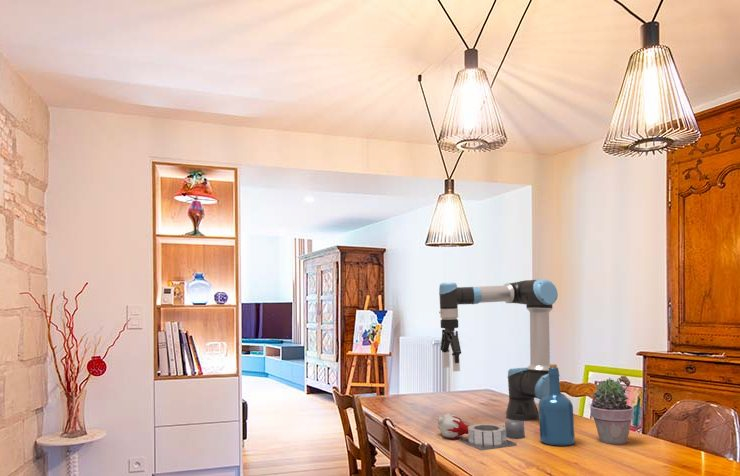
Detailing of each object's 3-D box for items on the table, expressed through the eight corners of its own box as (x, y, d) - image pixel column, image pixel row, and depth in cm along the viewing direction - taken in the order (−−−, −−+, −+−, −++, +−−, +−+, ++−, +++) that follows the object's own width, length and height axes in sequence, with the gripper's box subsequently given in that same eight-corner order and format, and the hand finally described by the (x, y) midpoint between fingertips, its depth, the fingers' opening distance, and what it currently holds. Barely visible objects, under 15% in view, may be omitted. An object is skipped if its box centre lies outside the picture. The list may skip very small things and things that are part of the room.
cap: (517, 433, 237) (516, 419, 238) (528, 437, 230) (527, 422, 231) (501, 435, 234) (501, 420, 235) (512, 439, 227) (512, 424, 228)
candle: (437, 432, 241) (472, 438, 236) (431, 437, 230) (468, 445, 225) (439, 410, 241) (474, 416, 236) (433, 415, 231) (470, 421, 226)
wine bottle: (571, 448, 212) (566, 366, 216) (535, 444, 219) (531, 365, 223) (579, 440, 224) (574, 363, 227) (545, 436, 231) (541, 361, 234)
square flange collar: (492, 436, 233) (492, 422, 233) (516, 445, 218) (515, 429, 219) (458, 440, 227) (458, 425, 227) (481, 450, 212) (480, 434, 213)
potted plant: (575, 439, 226) (571, 375, 228) (612, 434, 233) (608, 372, 236) (610, 449, 209) (606, 380, 212) (649, 443, 217) (644, 377, 220)
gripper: (432, 318, 255) (434, 366, 253) (450, 319, 230) (452, 373, 228) (448, 317, 256) (450, 365, 254) (467, 319, 232) (469, 372, 230)
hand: (451, 369), depth 241 cm, fingers open, 13 cm apart
